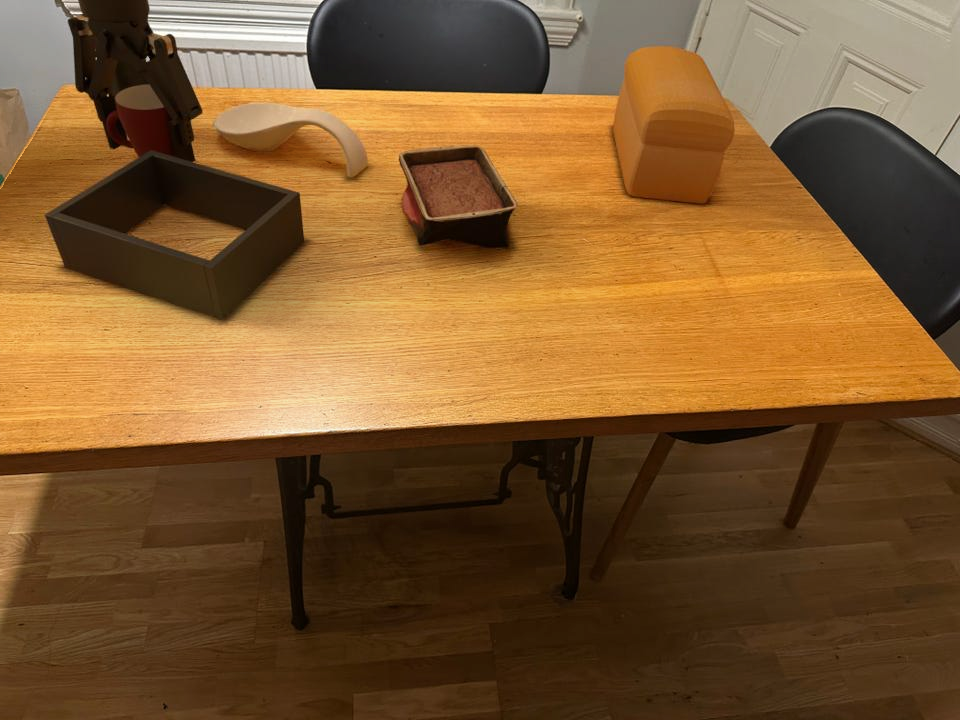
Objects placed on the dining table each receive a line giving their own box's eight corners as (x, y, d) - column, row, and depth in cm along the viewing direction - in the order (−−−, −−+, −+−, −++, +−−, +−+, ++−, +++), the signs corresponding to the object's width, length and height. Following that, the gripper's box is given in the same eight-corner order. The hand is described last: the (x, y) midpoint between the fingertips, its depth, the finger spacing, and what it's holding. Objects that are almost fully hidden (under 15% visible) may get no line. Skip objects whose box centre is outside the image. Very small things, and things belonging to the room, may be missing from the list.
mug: (106, 179, 94) (84, 107, 87) (124, 151, 100) (104, 81, 93) (188, 182, 95) (172, 111, 88) (200, 154, 101) (187, 85, 94)
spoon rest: (200, 147, 102) (191, 99, 97) (250, 118, 110) (243, 72, 106) (340, 191, 97) (338, 142, 92) (381, 157, 105) (381, 111, 100)
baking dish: (407, 274, 88) (417, 213, 80) (391, 183, 98) (398, 121, 91) (515, 275, 92) (534, 216, 84) (489, 187, 102) (504, 128, 94)
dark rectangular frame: (64, 267, 79) (43, 214, 75) (163, 199, 91) (150, 149, 87) (223, 320, 75) (212, 267, 71) (304, 241, 87) (300, 192, 83)
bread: (710, 205, 104) (745, 107, 93) (624, 196, 103) (651, 97, 93) (683, 132, 121) (710, 43, 111) (610, 124, 121) (630, 34, 111)
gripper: (2, -33, 81) (63, 145, 96) (170, 6, 76) (206, 187, 91) (52, -47, 86) (103, 124, 101) (212, -11, 81) (240, 163, 97)
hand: (152, 154), depth 96 cm, fingers closed on mug, 10 cm apart
